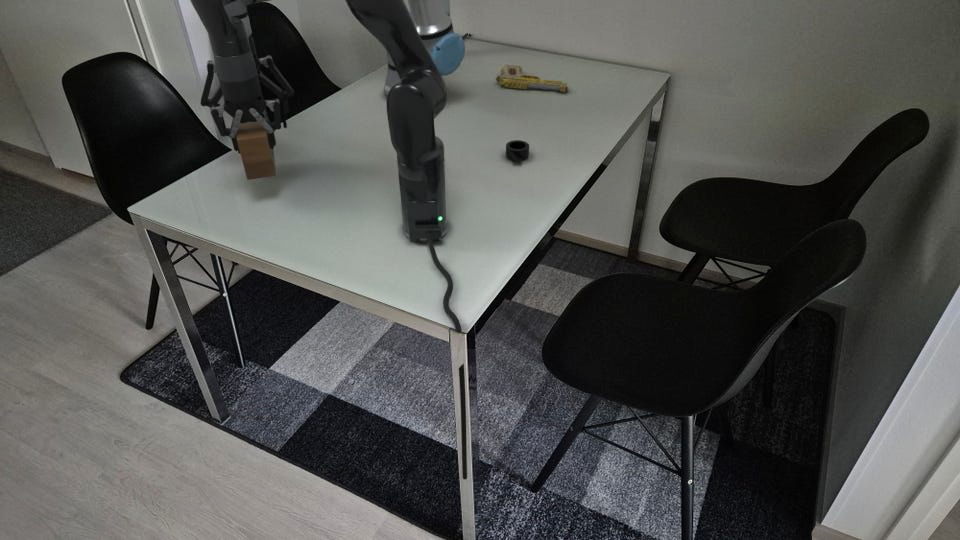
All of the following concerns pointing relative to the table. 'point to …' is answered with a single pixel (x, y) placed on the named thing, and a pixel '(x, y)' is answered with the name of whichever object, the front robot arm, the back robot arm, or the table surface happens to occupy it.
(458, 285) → the table surface
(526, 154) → the duct tape
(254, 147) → the box
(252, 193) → the table surface
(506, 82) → the handgun
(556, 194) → the table surface
